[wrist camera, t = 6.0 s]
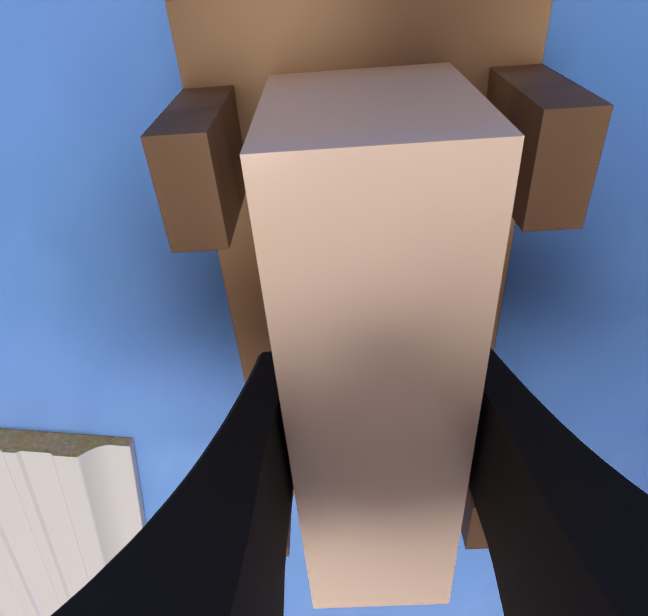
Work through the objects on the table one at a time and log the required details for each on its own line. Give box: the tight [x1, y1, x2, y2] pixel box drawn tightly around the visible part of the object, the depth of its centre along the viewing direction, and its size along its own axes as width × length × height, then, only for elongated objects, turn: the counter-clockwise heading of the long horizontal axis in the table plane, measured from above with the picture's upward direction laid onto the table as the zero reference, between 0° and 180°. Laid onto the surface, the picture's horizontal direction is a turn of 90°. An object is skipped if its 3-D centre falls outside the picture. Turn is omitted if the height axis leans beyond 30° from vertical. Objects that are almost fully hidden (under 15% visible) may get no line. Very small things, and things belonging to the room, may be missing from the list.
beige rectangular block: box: [240, 62, 525, 609], centre depth 12 cm, size 4×12×4 cm, turn 4°
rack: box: [141, 0, 614, 556], centre depth 13 cm, size 7×15×4 cm, turn 4°
